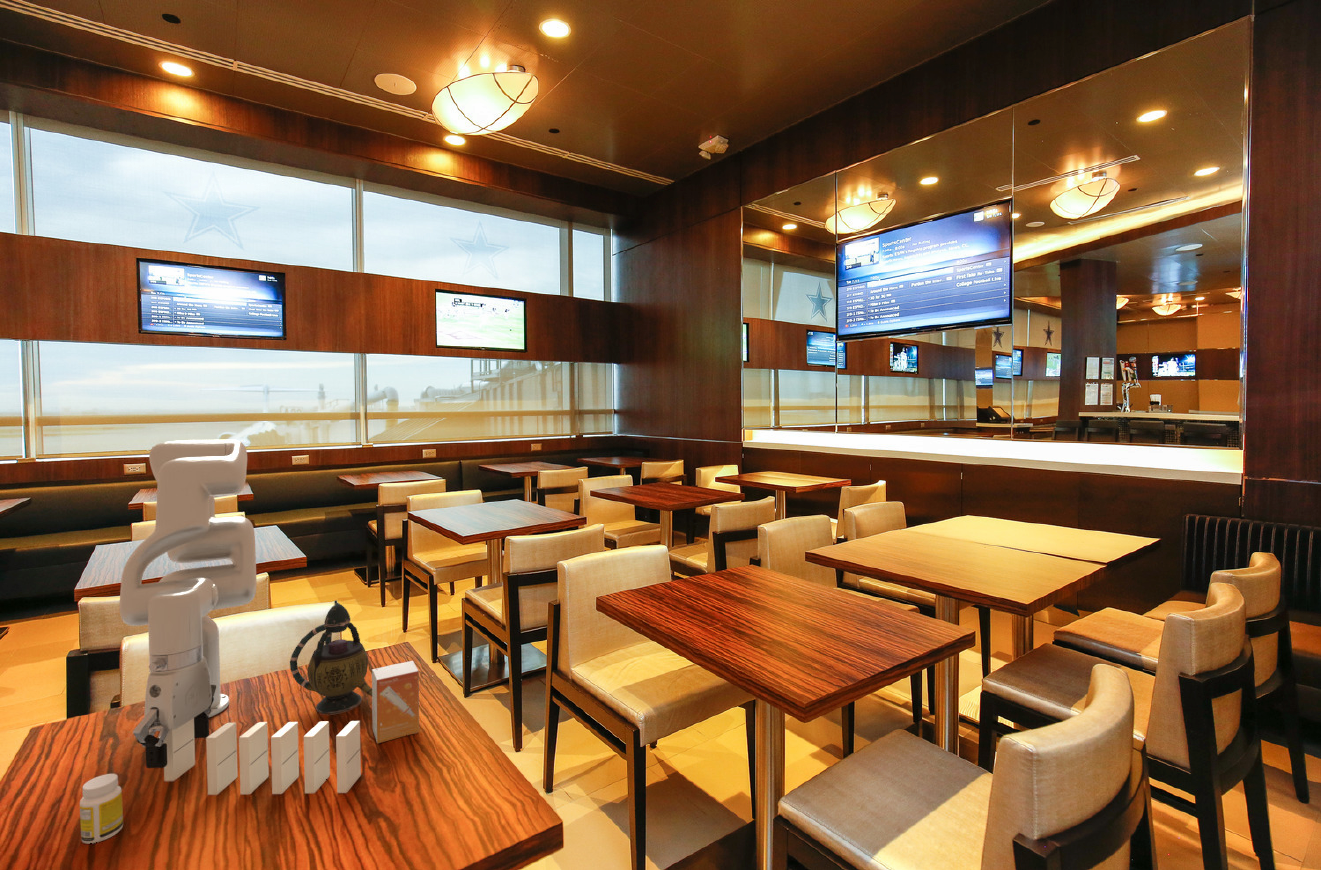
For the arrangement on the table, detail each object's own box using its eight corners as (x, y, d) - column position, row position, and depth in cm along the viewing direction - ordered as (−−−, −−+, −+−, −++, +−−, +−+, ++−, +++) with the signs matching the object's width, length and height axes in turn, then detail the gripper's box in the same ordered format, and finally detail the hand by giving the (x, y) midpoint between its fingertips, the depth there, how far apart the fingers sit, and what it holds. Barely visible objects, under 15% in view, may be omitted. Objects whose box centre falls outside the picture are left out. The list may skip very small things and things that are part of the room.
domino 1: (164, 781, 105) (162, 726, 105) (186, 764, 110) (184, 711, 110) (173, 781, 105) (172, 725, 105) (195, 764, 110) (193, 711, 110)
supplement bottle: (127, 819, 95) (126, 768, 95) (117, 838, 91) (115, 784, 91) (88, 829, 93) (86, 777, 93) (75, 848, 89) (73, 794, 89)
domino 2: (207, 794, 102) (206, 737, 101) (228, 776, 107) (227, 722, 106) (217, 794, 102) (215, 737, 101) (237, 776, 107) (236, 722, 106)
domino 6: (337, 792, 102) (336, 736, 102) (351, 775, 107) (350, 721, 107) (346, 792, 102) (345, 735, 102) (360, 775, 107) (359, 720, 107)
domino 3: (240, 794, 102) (238, 737, 101) (259, 776, 107) (258, 722, 106) (250, 794, 102) (248, 737, 101) (268, 776, 107) (267, 722, 106)
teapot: (333, 686, 142) (331, 591, 141) (415, 704, 133) (413, 602, 133) (285, 710, 131) (283, 606, 130) (372, 731, 122) (370, 619, 121)
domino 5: (304, 793, 102) (303, 736, 102) (320, 775, 107) (319, 721, 107) (314, 793, 102) (313, 736, 102) (330, 775, 107) (328, 721, 107)
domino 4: (272, 794, 102) (270, 737, 101) (289, 776, 107) (288, 721, 106) (281, 793, 102) (280, 736, 101) (299, 776, 107) (297, 721, 106)
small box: (376, 744, 117) (375, 680, 117) (372, 730, 122) (371, 668, 122) (420, 732, 121) (419, 670, 121) (413, 719, 127) (413, 659, 126)
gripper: (157, 677, 99) (160, 779, 99) (231, 640, 116) (233, 726, 116) (112, 678, 98) (115, 780, 99) (192, 641, 116) (194, 727, 116)
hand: (179, 751), depth 107 cm, fingers open, 9 cm apart
